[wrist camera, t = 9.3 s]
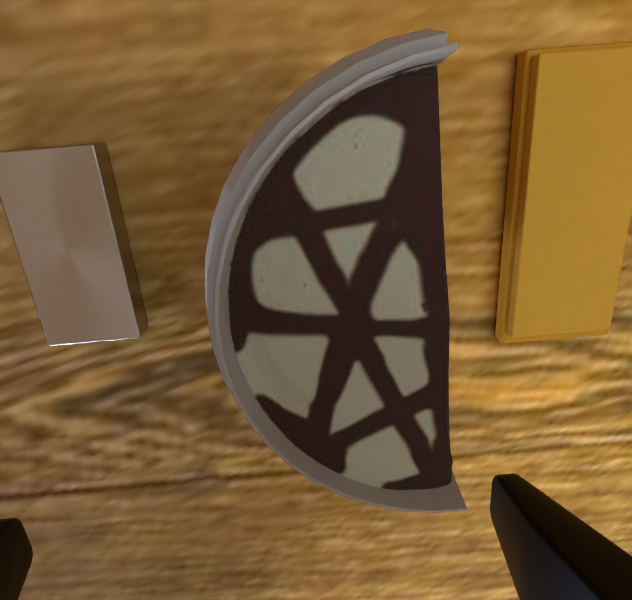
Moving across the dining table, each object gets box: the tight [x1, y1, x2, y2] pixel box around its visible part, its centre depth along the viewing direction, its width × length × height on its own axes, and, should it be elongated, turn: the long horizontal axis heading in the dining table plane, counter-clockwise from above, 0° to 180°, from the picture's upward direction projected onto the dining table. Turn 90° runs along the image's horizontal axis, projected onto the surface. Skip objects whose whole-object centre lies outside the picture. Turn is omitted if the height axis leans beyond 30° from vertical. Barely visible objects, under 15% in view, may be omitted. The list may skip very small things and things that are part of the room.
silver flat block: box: [0, 143, 148, 346], centre depth 19 cm, size 8×4×1 cm, turn 4°
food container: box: [205, 29, 467, 513], centre depth 15 cm, size 12×6×10 cm, turn 8°
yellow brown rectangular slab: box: [495, 42, 632, 343], centre depth 19 cm, size 12×5×1 cm, turn 4°
